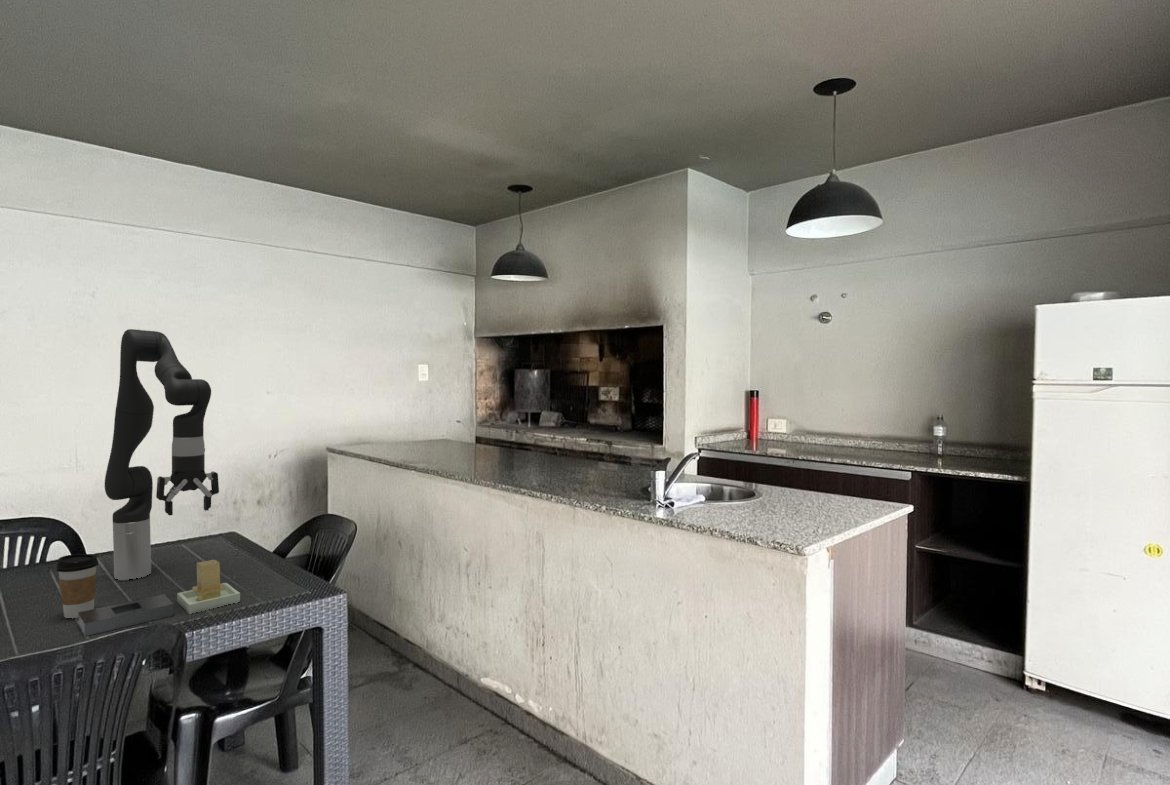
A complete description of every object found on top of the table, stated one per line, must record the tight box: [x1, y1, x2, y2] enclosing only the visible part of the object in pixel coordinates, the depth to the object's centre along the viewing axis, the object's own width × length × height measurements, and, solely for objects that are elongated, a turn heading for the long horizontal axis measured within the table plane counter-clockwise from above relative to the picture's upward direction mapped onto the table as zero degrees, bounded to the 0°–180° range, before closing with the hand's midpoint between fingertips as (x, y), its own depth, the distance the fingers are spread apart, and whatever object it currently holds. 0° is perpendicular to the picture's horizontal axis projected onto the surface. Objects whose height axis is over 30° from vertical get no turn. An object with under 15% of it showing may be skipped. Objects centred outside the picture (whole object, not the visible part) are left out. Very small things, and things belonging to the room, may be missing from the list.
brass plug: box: [191, 559, 225, 601], centre depth 171 cm, size 6×6×10 cm
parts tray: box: [176, 582, 241, 615], centre depth 171 cm, size 12×12×2 cm
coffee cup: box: [56, 553, 99, 620], centre depth 163 cm, size 8×8×15 cm
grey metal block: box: [77, 593, 175, 637], centre depth 159 cm, size 10×18×3 cm, turn 135°
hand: (188, 512), depth 172 cm, fingers open, 8 cm apart
